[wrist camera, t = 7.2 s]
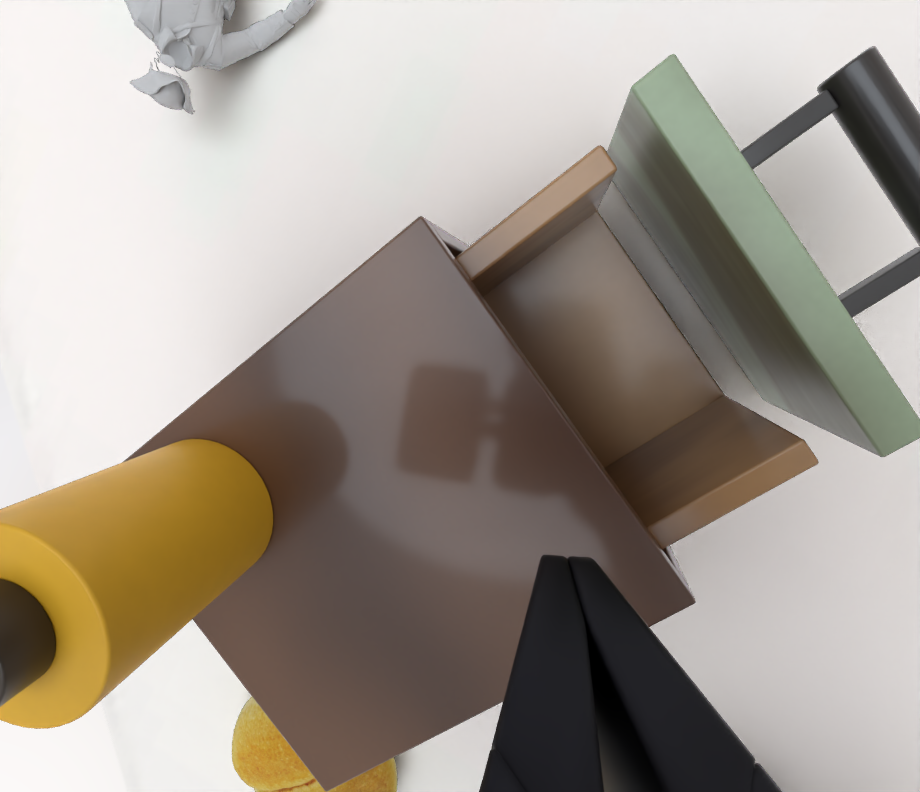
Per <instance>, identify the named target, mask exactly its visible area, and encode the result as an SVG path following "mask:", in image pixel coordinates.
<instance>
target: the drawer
mask: <svg viewBox="0 0 920 792" xmlns="http://www.w3.org/2000/svg"><path fill="white" fill-rule="evenodd" d="M817 91H818V93H819V95H817V96H816V97H815V98H813V99H812V100H811V101H809V102H808V103H806V104H805V105H804V106H802V107H801V108H800V109H798V110H797V111H795V112H794V113H793V114H791V115H790V116H789V117H787V118H786V119H784V120H783V121H782V122H780V123H779V124H778V125H776V126H775V127H773V128H772V129H771V130H769V131H768V132H767V133H765V134H764V135H762V136H761V137H760V138H758V139H757V140H756V141H754V142H753V143H751V144H750V145H749V146H747V147H746V148H744V149H743V150H742V151H739V149H738V148H737V146H736V145H735V143H734V142H733V140H732V139H731V137H730V136H729V134H728V133H727V131H726V130H725V128H724V127H723V125H722V124H721V122H720V121H719V119H718V118H717V116H716V115H715V113H714V112H713V110H712V109H711V107H710V106H709V104H708V103H707V101H706V100H705V98H704V97H703V95H702V94H701V93H700V91H699V90H698V88H697V87H696V85H695V84H694V82H693V81H692V79H691V78H690V76H689V75H688V73H687V72H686V70H685V69H684V67H683V66H682V64H681V63H680V61H679V60H678V58H677V57H676V55H674V54H672V55H670V56H668V57H667V58H666V59H665V60H663V61H662V62H661V63H660V64H659V65H657V66H656V67H655V68H654V69H652V70H651V71H650V72H649V73H647V74H646V75H645V76H644V77H642V78H641V79H640V80H639V81H637V82H636V83H635V84H634V85H633V86H632V87H631V89H630V92H629V95H628V97H627V100H626V103H625V105H624V108H623V111H622V113H621V116H620V119H619V121H618V124H617V127H616V129H615V132H614V135H613V137H612V140H611V143H610V145H609V148H608V151H607V152H606V151H605V149H604V148H603V147H602V146H601V145H600V146H597V147H596V148H594V149H593V150H592V151H591V152H589V153H588V154H587V155H585V156H584V157H583V158H582V159H580V160H579V161H578V162H577V163H575V164H574V165H573V166H571V167H570V168H569V169H568V170H566V171H565V172H564V173H563V174H561V175H560V176H559V177H557V178H556V179H555V180H554V181H552V182H551V183H550V184H549V185H547V186H546V187H545V188H543V189H542V190H541V191H540V192H538V193H537V194H536V195H535V196H533V197H532V198H531V199H529V200H528V201H527V202H526V203H524V204H523V205H522V206H521V207H519V208H518V209H517V210H515V211H514V212H513V213H512V214H510V215H509V216H508V217H507V218H505V219H504V220H503V221H501V222H500V223H499V224H498V225H496V226H495V227H494V228H493V229H491V230H490V231H489V232H487V233H486V234H485V235H484V236H482V237H481V238H480V239H479V240H477V241H476V242H475V243H473V244H472V245H471V246H470V247H468V248H467V249H466V250H465V251H463V252H462V253H461V254H459V255H458V256H457V257H456V258H455V259H456V260H457V261H458V263H459V264H460V266H461V267H462V269H463V270H464V271H465V273H466V274H467V276H468V277H469V278H470V280H471V281H472V283H473V284H474V285H475V287H476V288H477V290H478V291H479V292H480V294H481V295H482V297H483V298H484V299H485V301H486V302H487V304H488V305H489V307H490V308H491V309H492V311H493V312H494V314H495V315H496V316H497V318H498V319H499V321H500V322H501V323H502V325H503V326H504V328H505V329H506V330H507V332H508V333H509V335H510V336H511V337H512V339H513V340H514V342H515V343H516V345H517V346H518V347H519V349H520V350H521V352H522V353H523V354H524V356H525V357H526V359H527V360H528V361H529V363H530V364H531V366H532V367H533V368H534V370H535V371H536V373H537V374H538V375H539V377H540V378H541V380H542V381H543V383H544V384H545V385H546V387H547V388H548V390H549V391H550V392H551V394H552V395H553V397H554V398H555V399H556V401H557V402H558V404H559V405H560V406H561V408H562V409H563V411H564V412H565V413H566V415H567V416H568V418H569V419H570V420H571V422H572V423H573V425H574V426H575V428H576V429H577V430H578V432H579V433H580V435H581V436H582V437H583V439H584V440H585V442H586V443H587V444H588V446H589V447H590V449H591V450H592V451H593V453H594V454H595V456H596V457H597V458H598V460H599V461H600V463H601V464H602V466H603V467H604V468H605V470H606V471H607V473H608V474H609V475H610V477H611V478H612V480H613V481H614V482H615V484H616V485H617V487H618V488H619V489H620V491H621V492H622V494H623V495H624V496H625V498H626V499H627V501H628V502H629V504H630V505H631V506H632V508H633V509H634V511H635V512H636V513H637V515H638V516H639V518H640V519H641V520H642V522H643V523H644V525H645V526H646V527H647V529H648V530H649V532H650V533H651V534H652V536H653V537H654V539H655V540H656V542H657V543H658V544H659V546H660V547H661V549H664V548H665V547H667V546H669V545H671V544H673V543H674V542H676V541H678V540H680V539H682V538H684V537H685V536H687V535H689V534H691V533H693V532H695V531H696V530H698V529H700V528H702V527H704V526H705V525H707V524H709V523H711V522H713V521H715V520H716V519H718V518H720V517H722V516H724V515H725V514H727V513H729V512H731V511H733V510H735V509H736V508H738V507H740V506H742V505H744V504H746V503H747V502H749V501H751V500H753V499H755V498H756V497H758V496H760V495H762V494H764V493H766V492H767V491H769V490H771V489H773V488H775V487H776V486H778V485H780V484H782V483H784V482H786V481H787V480H789V479H791V478H793V477H795V476H797V475H798V474H800V473H802V472H804V471H806V470H807V469H809V468H811V467H813V466H815V465H817V464H818V459H817V458H816V457H815V455H814V454H813V452H812V451H811V449H810V448H809V446H808V445H807V443H806V442H805V441H804V440H803V439H801V438H799V437H798V436H796V435H794V434H792V433H791V432H789V431H787V430H785V429H783V428H782V427H780V426H778V425H776V424H775V423H773V422H771V421H769V420H767V419H766V418H764V417H762V416H760V415H759V414H757V413H755V412H753V411H751V410H750V409H748V408H746V407H744V406H743V405H741V404H739V403H737V402H735V401H734V400H732V399H730V398H728V397H727V396H725V395H724V394H723V392H722V391H721V389H720V388H719V386H718V385H717V383H716V382H715V381H714V379H713V378H712V376H711V375H710V373H709V372H708V370H707V369H706V368H705V366H704V365H703V363H702V362H701V360H700V359H699V357H698V356H697V354H696V353H695V352H694V350H693V349H692V347H691V346H690V344H689V343H688V341H687V340H686V339H685V337H684V336H683V334H682V333H681V331H680V330H679V328H678V327H677V326H676V324H675V323H674V321H673V320H672V318H671V317H670V315H669V314H668V313H667V311H666V310H665V308H664V307H663V305H662V304H661V302H660V301H659V300H658V298H657V297H656V295H655V294H654V292H653V291H652V289H651V288H650V286H649V285H648V284H647V282H646V281H645V279H644V278H643V276H642V275H641V273H640V272H639V271H638V269H637V268H636V266H635V265H634V263H633V262H632V260H631V259H630V258H629V256H628V255H627V253H626V252H625V250H624V249H623V247H622V246H621V245H620V243H619V242H618V240H617V239H616V237H615V236H614V234H613V233H612V232H611V230H610V229H609V227H608V226H607V224H606V223H605V221H604V220H603V219H602V217H601V216H600V214H599V213H598V211H597V209H598V207H599V205H600V203H601V201H602V199H603V197H604V195H605V193H606V191H607V189H608V187H609V185H610V183H611V181H612V180H613V182H614V183H615V185H616V186H617V188H618V189H619V191H620V192H621V194H622V195H623V197H624V198H625V199H626V201H627V202H628V204H629V205H630V207H631V208H632V210H633V211H634V213H635V214H636V215H637V217H638V218H639V220H640V221H641V223H642V224H643V226H644V227H645V229H646V230H647V231H648V233H649V234H650V236H651V237H652V239H653V240H654V242H655V243H656V245H657V246H658V247H659V249H660V250H661V252H662V253H663V255H664V256H665V258H666V259H667V261H668V262H669V263H670V265H671V266H672V268H673V269H674V271H675V272H676V274H677V275H678V277H679V278H680V279H681V281H682V282H683V284H684V285H685V287H686V288H687V290H688V291H689V293H690V294H691V295H692V297H693V298H694V300H695V301H696V303H697V304H698V306H699V307H700V309H701V310H702V311H703V313H704V314H705V316H706V317H707V319H708V320H709V322H710V323H711V325H712V326H713V327H714V329H715V330H716V332H717V333H718V335H719V336H720V338H721V339H722V341H723V342H724V343H725V345H726V346H727V348H728V349H729V351H730V352H731V354H732V355H733V357H734V358H735V359H736V361H737V362H738V364H739V365H740V367H741V368H742V370H743V371H744V373H745V374H746V375H747V377H748V378H749V380H750V381H751V383H752V384H753V386H754V387H755V389H756V390H757V391H758V393H759V394H760V396H761V397H762V399H763V400H764V401H766V402H768V403H770V404H772V405H774V406H777V407H779V408H781V409H783V410H785V411H787V412H789V413H791V414H793V415H795V416H797V417H799V418H801V419H804V420H806V421H808V422H810V423H812V424H814V425H816V426H818V427H820V428H822V429H824V430H826V431H828V432H831V433H833V434H835V435H837V436H839V437H841V438H843V439H845V440H847V441H849V442H851V443H853V444H855V445H858V446H860V447H862V448H864V449H866V450H868V451H870V452H872V453H874V454H876V455H878V456H880V457H885V456H887V455H889V454H891V453H893V452H895V451H896V450H898V449H900V448H902V447H904V446H906V445H908V444H910V443H911V442H913V441H915V440H917V439H919V438H920V419H919V417H918V416H917V414H916V413H915V411H914V410H913V408H912V407H911V405H910V404H909V402H908V401H907V399H906V398H905V397H904V395H903V394H902V392H901V391H900V389H899V388H898V386H897V385H896V383H895V382H894V380H893V379H892V377H891V376H890V374H889V373H888V371H887V370H886V368H885V367H884V365H883V364H882V362H881V361H880V359H879V358H878V356H877V355H876V353H875V352H874V350H873V349H872V347H871V346H870V344H869V343H868V341H867V340H866V338H865V337H864V335H863V334H862V332H861V331H860V329H859V328H858V326H857V325H856V323H855V322H854V321H853V319H852V317H854V316H855V315H857V314H859V313H860V312H862V311H863V310H865V309H867V308H868V307H870V306H872V305H873V304H875V303H877V302H878V301H880V300H882V299H883V298H885V297H886V296H888V295H890V294H891V293H893V292H895V291H896V290H898V289H900V288H901V287H903V286H904V285H906V284H908V283H909V282H911V281H913V280H914V279H916V278H918V277H919V276H920V247H917V248H914V249H913V250H911V251H910V252H908V253H906V254H905V255H903V256H902V257H900V258H898V259H897V260H895V261H894V262H892V263H890V264H889V265H887V266H886V267H884V268H882V269H881V270H879V271H878V272H876V273H874V274H873V275H871V276H870V277H868V278H866V279H865V280H863V281H862V282H860V283H858V284H857V285H855V286H854V287H852V288H850V289H849V290H847V291H845V292H844V293H842V294H841V295H839V296H837V295H836V294H835V292H834V291H833V289H832V288H831V286H830V285H829V283H828V282H827V280H826V279H825V277H824V276H823V274H822V273H821V271H820V270H819V268H818V267H817V265H816V264H815V262H814V261H813V259H812V258H811V256H810V255H809V253H808V252H807V250H806V249H805V247H804V246H803V245H802V243H801V242H800V240H799V239H798V237H797V236H796V234H795V233H794V231H793V230H792V228H791V227H790V225H789V224H788V222H787V221H786V219H785V218H784V216H783V215H782V213H781V212H780V210H779V209H778V207H777V206H776V204H775V203H774V201H773V200H772V198H771V197H770V195H769V194H768V192H767V191H766V189H765V188H764V186H763V185H762V183H761V182H760V180H759V179H758V177H757V176H756V174H755V173H754V171H753V169H754V168H755V167H757V166H758V165H760V164H761V163H762V162H764V161H765V160H767V159H768V158H769V157H771V156H772V155H774V154H775V153H776V152H778V151H779V150H781V149H782V148H783V147H785V146H786V145H788V144H789V143H790V142H792V141H793V140H795V139H796V138H797V137H799V136H800V135H802V134H803V133H805V132H806V131H807V130H809V129H810V128H812V127H813V126H814V125H816V124H817V123H819V122H820V121H821V120H823V119H824V118H826V117H827V116H828V115H830V114H831V113H832V114H833V115H834V117H835V119H836V120H837V122H838V123H839V125H840V126H841V128H842V129H843V131H844V132H845V134H846V135H847V137H848V138H849V140H850V141H851V143H852V144H853V146H854V147H855V149H856V150H857V152H858V153H859V155H860V157H861V158H862V160H863V161H864V163H865V164H866V166H867V167H868V169H869V170H870V172H871V173H872V175H873V176H874V178H875V179H876V181H877V182H878V184H879V185H880V187H881V188H882V190H883V191H884V193H885V194H886V196H887V198H888V199H889V201H890V202H891V204H892V205H893V207H894V208H895V210H896V211H897V213H898V214H899V216H900V217H901V219H902V220H903V222H904V223H905V225H906V226H907V228H908V229H909V231H910V232H911V234H912V236H913V237H914V239H915V240H916V242H917V243H918V245H919V246H920V114H919V112H918V111H917V109H916V108H915V106H914V105H913V103H912V102H911V100H910V99H909V97H908V96H907V94H906V92H905V91H904V89H903V88H902V86H901V85H900V83H899V82H898V80H897V79H896V77H895V75H894V74H893V72H892V71H891V69H890V68H889V66H888V65H887V63H886V62H885V60H884V59H883V57H882V55H881V54H880V52H879V51H878V49H877V48H876V47H875V46H872V47H870V48H868V49H867V50H866V51H864V52H863V53H861V54H860V55H859V56H857V57H856V58H855V59H853V60H852V61H850V62H849V63H848V64H846V65H845V66H844V67H842V68H841V69H840V70H838V71H837V72H836V73H834V74H833V75H832V76H830V77H829V78H828V79H827V80H825V81H824V82H823V83H821V84H820V85H819V86H818V88H817Z"/></svg>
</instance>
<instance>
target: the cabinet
mask: <svg viewBox="0 0 920 792" xmlns="http://www.w3.org/2000/svg"><path fill="white" fill-rule="evenodd" d="M468 247H470V246H468V245H466V244H465V243H463V242H462V241H460V240H458V239H457V238H455V237H454V236H452V235H450V234H449V233H447V232H446V231H444V230H442V229H441V228H439V227H438V226H436V225H435V224H433V223H431V222H430V221H428V220H427V219H425V218H424V217H422V216H421V217H418V218H417V219H416V220H415V221H414V222H412V223H411V224H410V225H409V226H408V227H406V228H405V229H404V230H403V231H402V232H400V233H399V234H398V235H397V236H396V237H394V238H393V239H392V240H391V241H389V242H388V243H387V244H386V245H385V246H383V247H382V248H381V249H380V250H379V251H377V252H376V253H375V254H374V255H373V256H371V257H370V258H369V259H368V260H366V261H365V262H364V263H363V264H362V265H360V266H359V267H358V268H357V269H356V270H354V271H353V272H352V273H351V274H350V275H348V276H347V277H346V278H345V279H344V280H342V281H341V282H340V283H339V284H337V285H336V286H335V287H334V288H333V289H331V290H330V291H329V292H328V293H327V294H325V295H324V296H323V297H322V298H321V299H319V300H318V301H317V302H316V303H314V304H313V305H312V306H311V307H310V308H308V309H307V310H306V311H305V312H304V313H302V314H301V315H300V316H299V317H298V318H296V319H295V320H294V321H293V322H292V323H290V324H289V325H288V326H287V327H285V328H284V329H283V330H282V331H281V332H279V333H278V334H277V335H276V336H275V337H273V338H272V339H271V340H270V341H269V342H267V343H266V344H265V345H264V346H263V347H261V348H260V349H259V350H258V351H256V352H255V353H254V354H253V355H252V356H250V357H249V358H248V359H247V360H246V361H244V362H243V363H242V364H241V365H240V366H238V367H237V368H236V369H235V370H233V371H232V372H231V373H230V374H229V375H227V376H226V377H225V378H224V379H223V380H221V381H220V382H219V383H218V384H217V385H215V386H214V387H213V388H212V389H211V390H209V391H208V392H207V393H206V394H204V395H203V396H202V397H201V398H200V399H198V400H197V401H196V402H195V403H194V404H192V405H191V406H190V407H189V408H188V409H186V410H185V411H184V412H183V413H181V414H180V415H179V416H178V417H177V418H175V419H174V420H173V421H172V422H171V423H169V424H168V425H167V426H166V427H165V428H163V429H162V430H161V431H160V432H159V433H157V434H156V435H155V436H154V437H152V438H151V439H150V440H149V441H148V442H146V443H145V444H144V445H143V446H142V447H140V448H139V449H138V450H137V451H136V452H134V453H133V454H132V455H131V456H130V457H128V458H127V459H126V460H125V461H128V460H131V459H133V458H136V457H139V456H141V455H144V454H146V453H149V452H152V451H154V450H157V449H159V448H162V447H165V446H167V445H170V444H173V443H175V442H179V441H182V440H188V439H203V440H210V441H213V442H217V443H220V444H222V445H225V446H227V447H229V448H231V449H232V450H234V451H236V452H237V453H239V454H240V455H241V456H243V457H244V458H245V459H246V460H247V461H248V462H249V463H250V464H251V465H252V466H253V467H254V469H255V470H256V471H257V472H258V474H259V475H260V477H261V478H262V480H263V482H264V484H265V486H266V488H267V490H268V493H269V496H270V499H271V503H272V509H273V528H272V534H271V537H270V541H269V543H268V546H267V548H266V550H265V551H264V553H263V554H262V556H261V557H260V558H259V559H258V561H257V562H256V563H255V564H253V565H252V566H251V567H250V568H249V569H248V570H247V571H246V572H244V573H243V574H242V575H241V576H240V577H239V578H238V579H237V580H236V581H234V582H233V583H232V584H231V585H230V586H229V587H228V588H227V589H225V590H224V591H223V592H222V593H221V594H220V595H219V596H218V597H216V598H215V599H214V600H213V601H212V602H211V603H210V604H209V605H207V606H206V607H205V608H204V609H203V610H202V611H201V612H200V613H198V614H197V615H196V616H195V617H194V618H193V620H194V622H195V623H196V624H197V626H198V627H199V628H200V629H201V631H202V632H203V633H204V635H205V636H206V637H207V639H208V640H209V641H210V642H211V644H212V645H213V646H214V648H215V649H216V650H217V652H218V653H219V654H220V655H221V657H222V658H223V659H224V661H225V662H226V663H227V665H228V666H229V667H230V668H231V670H232V671H233V672H234V674H235V675H236V676H237V677H238V679H239V680H240V681H241V683H242V684H243V685H244V687H245V688H246V689H247V690H248V692H249V693H250V694H251V696H252V697H253V698H254V700H255V701H256V702H257V703H258V705H259V706H260V707H261V709H262V710H263V711H264V713H265V714H266V715H267V716H268V718H269V719H270V720H271V722H272V723H273V724H274V726H275V727H276V728H277V729H278V731H279V732H280V733H281V735H282V736H283V737H284V738H285V740H286V741H287V742H288V744H289V745H290V746H291V748H292V749H293V750H294V751H295V753H296V754H297V755H298V757H299V758H300V759H301V761H302V762H303V763H304V764H305V766H306V767H307V768H308V770H309V771H310V772H311V774H312V775H313V776H314V777H315V779H316V780H317V781H318V783H319V784H320V785H321V787H322V788H323V789H324V790H325V791H326V792H327V791H329V790H331V789H333V788H335V787H337V786H339V785H341V784H343V783H345V782H347V781H349V780H351V779H353V778H355V777H357V776H359V775H361V774H363V773H365V772H367V771H368V770H370V769H372V768H374V767H376V766H378V765H380V764H382V763H384V762H386V761H388V760H390V759H392V758H394V757H396V756H398V755H400V754H402V753H404V752H406V751H408V750H409V749H411V748H413V747H415V746H417V745H419V744H421V743H423V742H425V741H427V740H429V739H431V738H433V737H435V736H437V735H439V734H441V733H443V732H445V731H447V730H449V729H450V728H452V727H454V726H456V725H458V724H460V723H462V722H464V721H466V720H468V719H470V718H472V717H474V716H476V715H478V714H480V713H482V712H484V711H486V710H488V709H490V708H491V707H493V706H495V705H497V704H499V703H501V702H503V701H504V697H505V693H506V689H507V685H508V682H509V678H510V674H511V670H512V666H513V662H514V658H515V655H516V651H517V647H518V643H519V639H520V635H521V632H522V628H523V624H524V620H525V616H526V612H527V608H528V605H529V601H530V597H531V593H532V589H533V585H534V582H535V578H536V574H537V570H538V566H539V562H540V559H541V557H542V556H543V555H559V556H564V557H566V558H568V557H570V556H577V557H590V558H592V559H594V560H595V561H596V562H597V563H598V565H599V566H600V567H601V568H602V570H603V571H604V572H605V573H606V575H607V576H608V577H609V578H610V580H611V581H612V582H613V583H614V585H615V586H616V587H617V588H618V590H619V591H620V592H621V593H622V594H623V596H624V597H625V598H626V599H627V601H628V602H629V603H630V604H631V606H632V607H633V608H634V609H635V611H636V612H637V613H638V614H639V616H640V617H641V618H642V619H643V620H644V622H645V623H646V624H647V625H648V627H650V626H652V625H654V624H656V623H657V622H659V621H661V620H663V619H665V618H667V617H669V616H671V615H673V614H675V613H677V612H679V611H681V610H683V609H685V608H687V607H689V606H691V605H693V604H694V603H695V598H694V596H693V594H692V592H691V590H690V588H689V585H688V583H687V581H686V579H685V577H684V575H683V573H682V571H681V569H680V566H679V564H678V562H677V560H676V558H675V556H674V554H673V552H672V550H671V548H670V545H669V546H667V547H665V548H664V549H661V547H660V546H659V544H658V543H657V542H656V540H655V539H654V537H653V536H652V534H651V533H650V532H649V530H648V529H647V527H646V526H645V525H644V523H643V522H642V520H641V519H640V518H639V516H638V515H637V513H636V512H635V511H634V509H633V508H632V506H631V505H630V504H629V502H628V501H627V499H626V498H625V496H624V495H623V494H622V492H621V491H620V489H619V488H618V487H617V485H616V484H615V482H614V481H613V480H612V478H611V477H610V475H609V474H608V473H607V471H606V470H605V468H604V467H603V466H602V464H601V463H600V461H599V460H598V458H597V457H596V456H595V454H594V453H593V451H592V450H591V449H590V447H589V446H588V444H587V443H586V442H585V440H584V439H583V437H582V436H581V435H580V433H579V432H578V430H577V429H576V428H575V426H574V425H573V423H572V422H571V420H570V419H569V418H568V416H567V415H566V413H565V412H564V411H563V409H562V408H561V406H560V405H559V404H558V402H557V401H556V399H555V398H554V397H553V395H552V394H551V392H550V391H549V390H548V388H547V387H546V385H545V384H544V383H543V381H542V380H541V378H540V377H539V375H538V374H537V373H536V371H535V370H534V368H533V367H532V366H531V364H530V363H529V361H528V360H527V359H526V357H525V356H524V354H523V353H522V352H521V350H520V349H519V347H518V346H517V345H516V343H515V342H514V340H513V339H512V337H511V336H510V335H509V333H508V332H507V330H506V329H505V328H504V326H503V325H502V323H501V322H500V321H499V319H498V318H497V316H496V315H495V314H494V312H493V311H492V309H491V308H490V307H489V305H488V304H487V302H486V301H485V299H484V298H483V297H482V295H481V294H480V292H479V291H478V290H477V288H476V287H475V285H474V284H473V283H472V281H471V280H470V278H469V277H468V276H467V274H466V273H465V271H464V270H463V269H462V267H461V266H460V264H459V263H458V261H457V260H456V259H455V258H456V257H457V256H458V255H459V254H461V253H462V252H463V251H465V250H466V249H467V248H468ZM125 461H123V462H125ZM123 462H122V463H123Z"/></svg>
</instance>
